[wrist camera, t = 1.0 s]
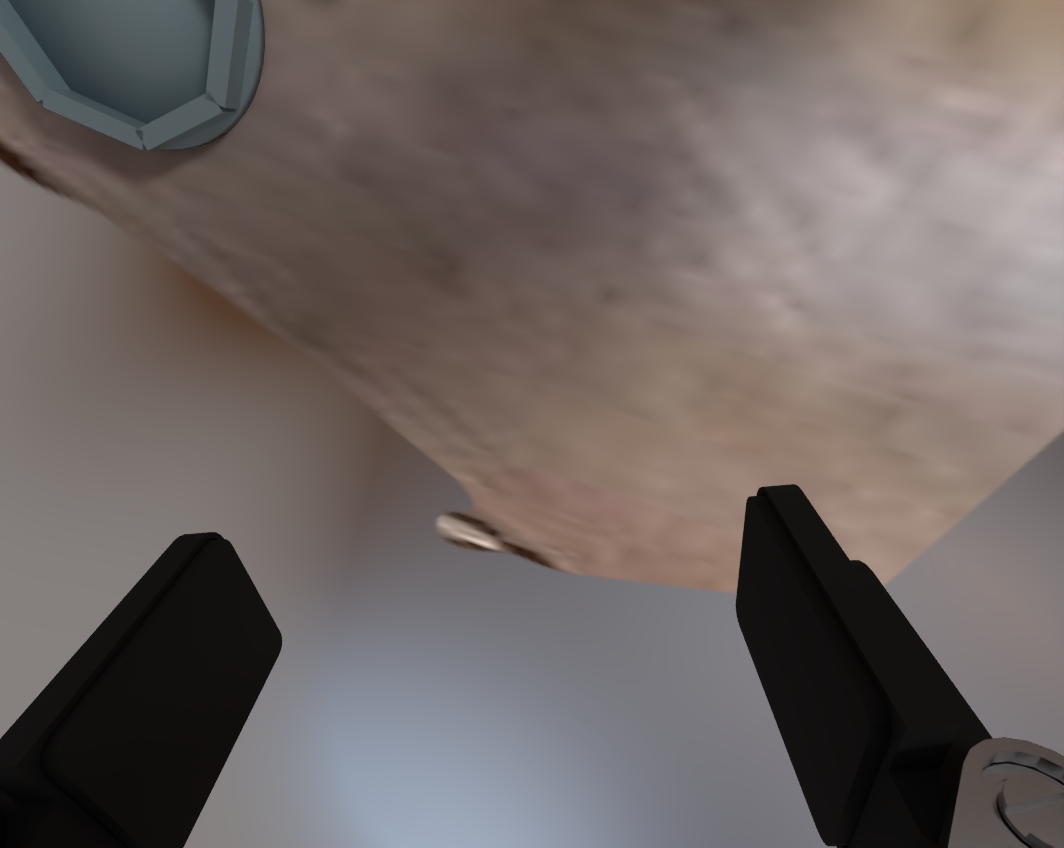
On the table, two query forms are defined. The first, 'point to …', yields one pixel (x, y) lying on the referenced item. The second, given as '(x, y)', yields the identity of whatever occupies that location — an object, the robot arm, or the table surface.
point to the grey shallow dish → (139, 64)
